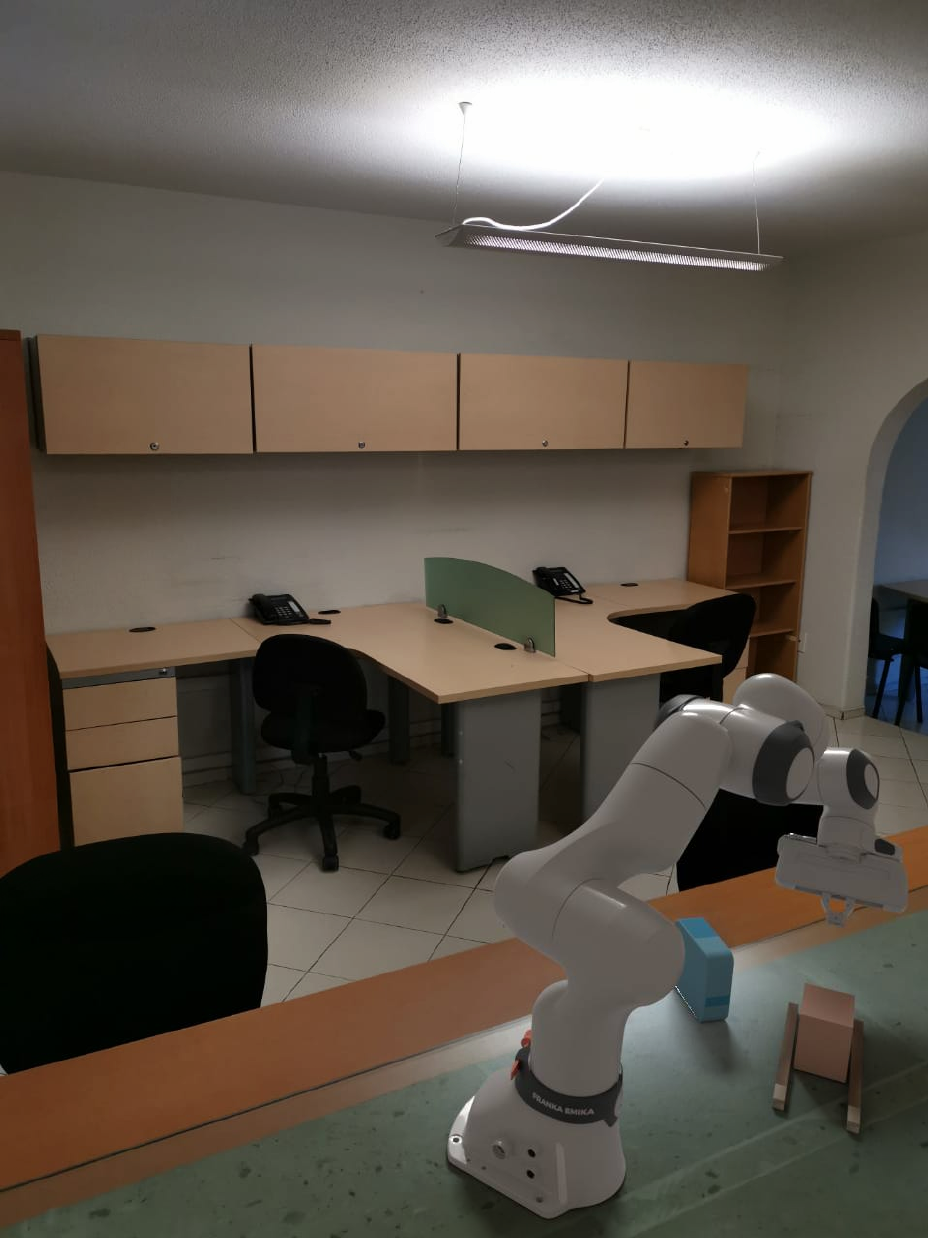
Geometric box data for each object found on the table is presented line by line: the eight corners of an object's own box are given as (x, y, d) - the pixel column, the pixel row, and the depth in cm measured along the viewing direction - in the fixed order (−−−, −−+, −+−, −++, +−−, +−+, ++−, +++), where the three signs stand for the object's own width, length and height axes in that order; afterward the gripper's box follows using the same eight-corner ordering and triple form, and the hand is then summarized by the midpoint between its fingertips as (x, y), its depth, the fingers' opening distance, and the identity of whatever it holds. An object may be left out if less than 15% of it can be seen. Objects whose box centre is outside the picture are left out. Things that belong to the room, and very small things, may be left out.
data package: (728, 1023, 145) (735, 955, 142) (701, 1027, 144) (708, 958, 141) (694, 977, 156) (700, 913, 153) (668, 980, 155) (674, 915, 152)
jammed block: (793, 1068, 135) (800, 1014, 133) (798, 1035, 142) (804, 983, 140) (845, 1083, 132) (853, 1028, 130) (847, 1048, 139) (854, 995, 137)
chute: (772, 1107, 128) (773, 1097, 127) (787, 1010, 148) (788, 1002, 148) (858, 1133, 124) (859, 1124, 123) (862, 1030, 144) (863, 1021, 144)
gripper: (780, 824, 157) (767, 903, 151) (913, 850, 150) (906, 935, 143) (779, 837, 163) (767, 915, 156) (908, 864, 155) (901, 946, 148)
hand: (834, 925), depth 149 cm, fingers closed
